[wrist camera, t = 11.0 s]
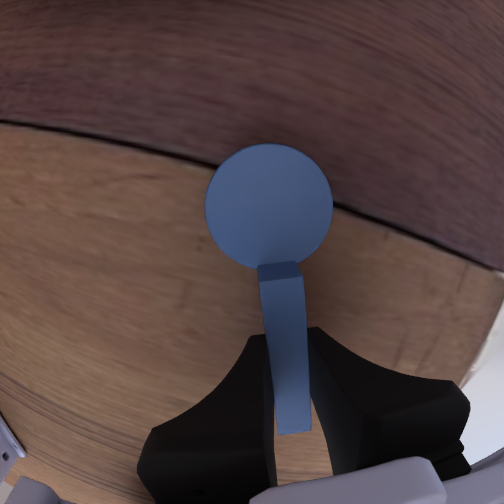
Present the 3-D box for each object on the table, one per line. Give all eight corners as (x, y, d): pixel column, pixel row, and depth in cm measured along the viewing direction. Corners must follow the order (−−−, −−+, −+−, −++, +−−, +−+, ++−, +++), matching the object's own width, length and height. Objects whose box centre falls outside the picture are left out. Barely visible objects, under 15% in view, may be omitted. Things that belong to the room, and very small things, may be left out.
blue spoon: (333, 383, 14) (348, 424, 11) (241, 396, 14) (240, 439, 11) (318, 140, 11) (340, 131, 9) (201, 154, 12) (185, 148, 9)
